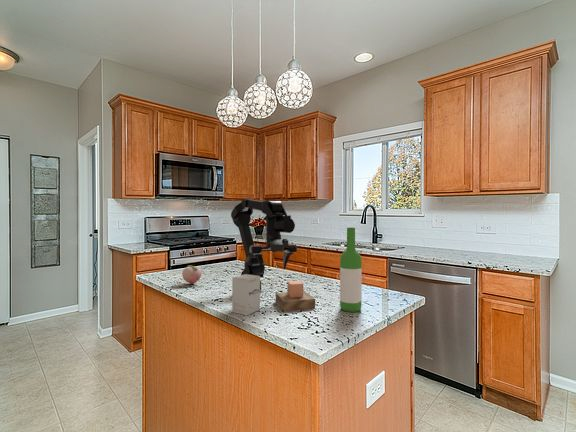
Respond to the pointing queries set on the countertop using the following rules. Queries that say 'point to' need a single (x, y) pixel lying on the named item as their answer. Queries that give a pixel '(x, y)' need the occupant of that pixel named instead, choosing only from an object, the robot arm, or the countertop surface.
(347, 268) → the wine bottle
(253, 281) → the supplement box
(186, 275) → the decorative fruit
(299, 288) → the terracotta cube
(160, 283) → the countertop surface
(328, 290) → the countertop surface
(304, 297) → the walnut block
